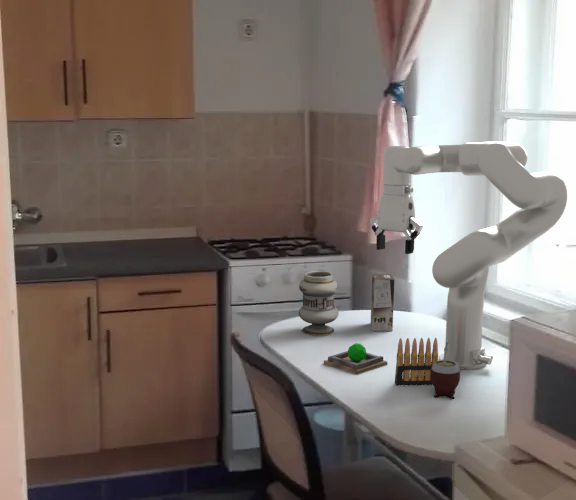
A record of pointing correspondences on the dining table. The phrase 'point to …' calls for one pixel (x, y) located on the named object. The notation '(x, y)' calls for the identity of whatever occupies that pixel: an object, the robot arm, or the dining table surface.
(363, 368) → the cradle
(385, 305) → the coffee box
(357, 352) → the polyhedron
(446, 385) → the mate gourd
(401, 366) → the ammunition clip
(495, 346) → the dining table surface
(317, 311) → the apothecary jar
